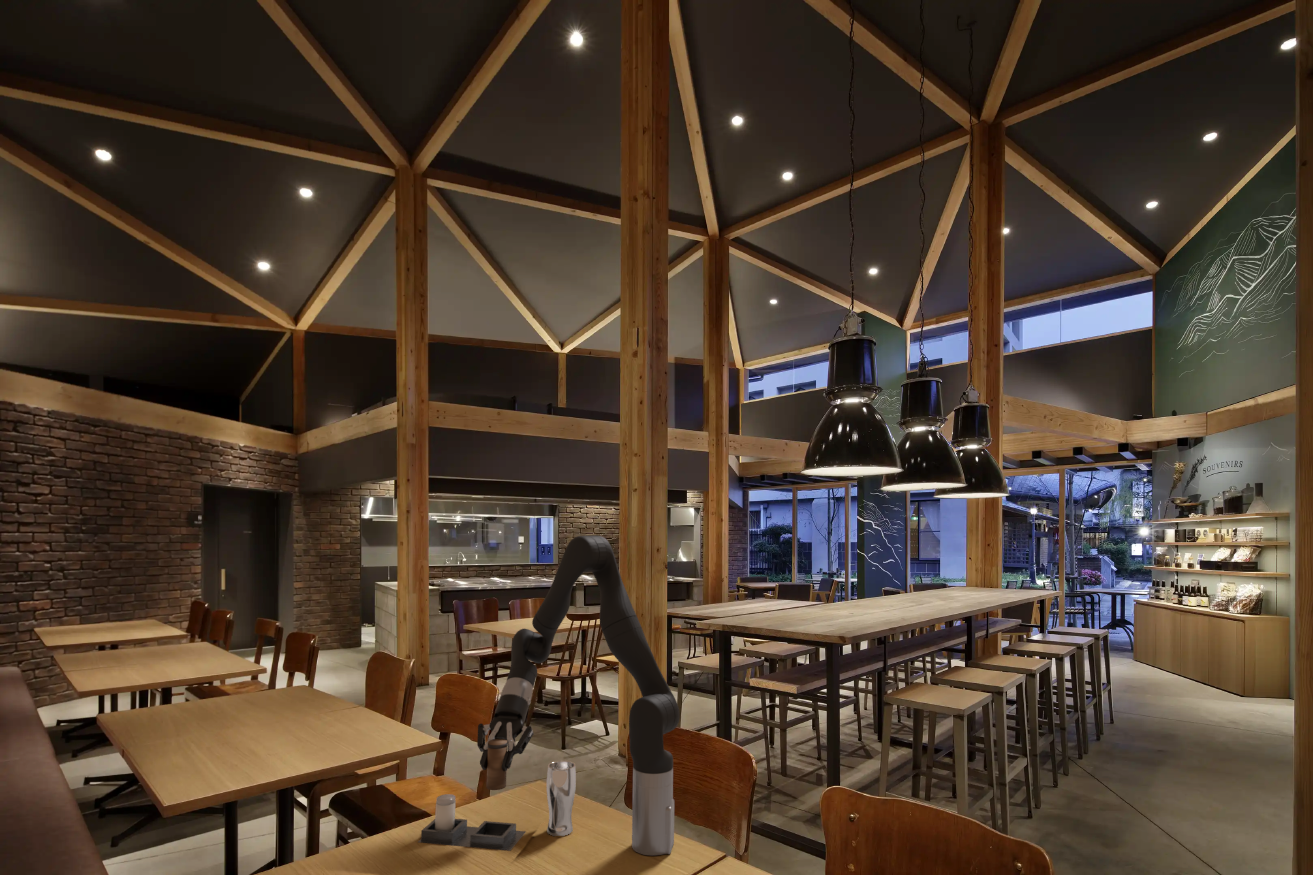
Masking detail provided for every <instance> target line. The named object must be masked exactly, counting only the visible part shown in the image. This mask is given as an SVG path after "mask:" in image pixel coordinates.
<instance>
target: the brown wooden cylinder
mask: <svg viewBox="0 0 1313 875" xmlns="http://www.w3.org/2000/svg"><path fill="white" fill-rule="evenodd" d="M487 741H488V740H487ZM506 751H508V743H507V740H506V739H493V740H490V741H488V758H487V769H486V789H487V790H489V791H501V790H503V789H506V787H507V771H503V769H502V763H503V760H504V756H505V753H506Z"/></svg>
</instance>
